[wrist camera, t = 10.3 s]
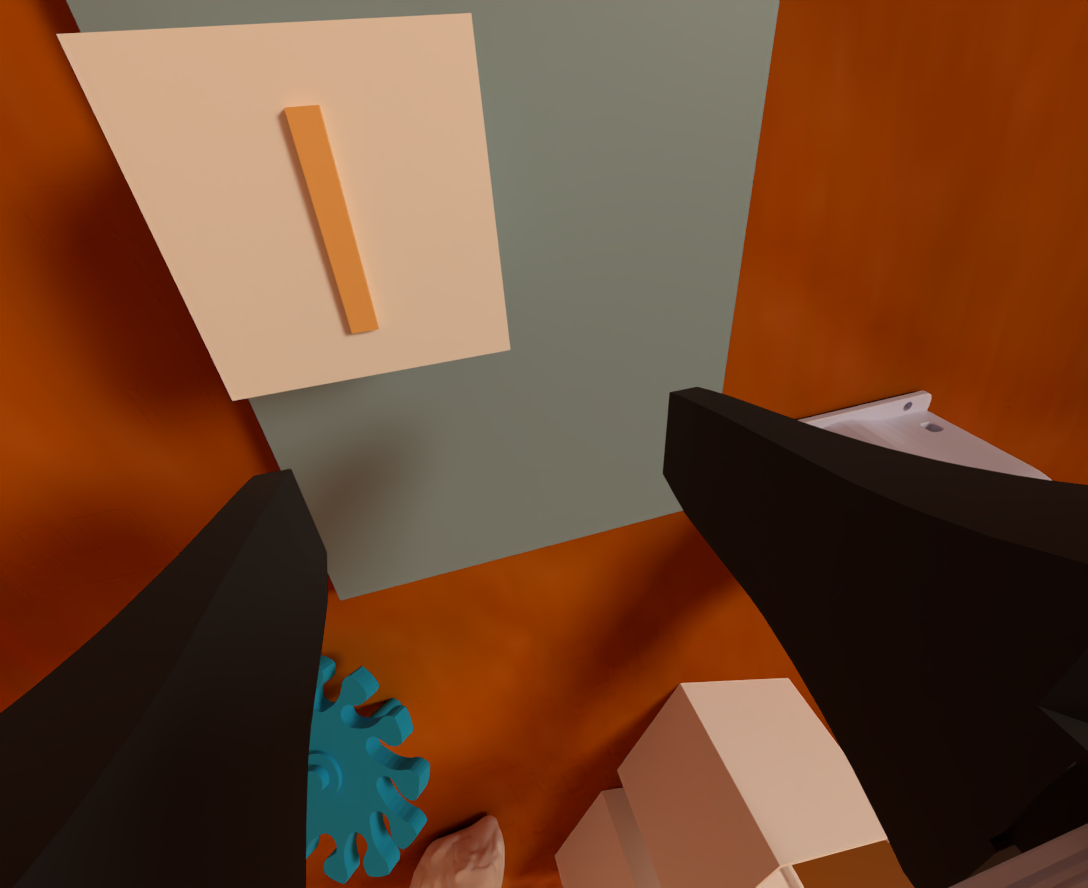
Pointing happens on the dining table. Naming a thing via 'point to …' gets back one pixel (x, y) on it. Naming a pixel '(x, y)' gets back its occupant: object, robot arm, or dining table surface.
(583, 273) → the base plate
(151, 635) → the robot arm
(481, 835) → the bust
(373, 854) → the gear
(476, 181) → the cabinet with handle
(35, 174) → the dining table surface
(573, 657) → the dining table surface
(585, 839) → the storage container
